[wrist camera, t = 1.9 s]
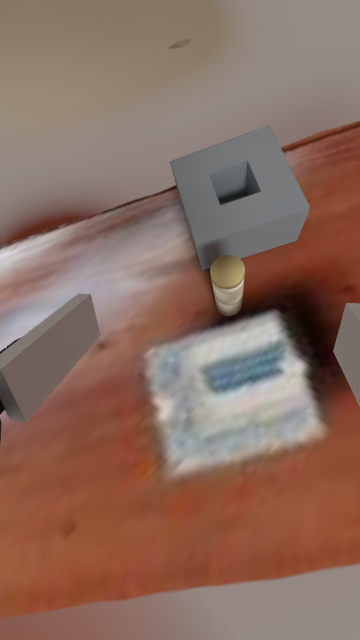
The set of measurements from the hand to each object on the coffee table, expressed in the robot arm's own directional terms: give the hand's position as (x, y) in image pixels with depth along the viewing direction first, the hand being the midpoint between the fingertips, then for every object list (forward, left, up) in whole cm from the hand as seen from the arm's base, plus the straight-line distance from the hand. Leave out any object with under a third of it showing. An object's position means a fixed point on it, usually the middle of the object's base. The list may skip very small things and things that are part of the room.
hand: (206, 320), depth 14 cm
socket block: (-9, -25, -28) cm, 38 cm away
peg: (-4, -10, -28) cm, 30 cm away
